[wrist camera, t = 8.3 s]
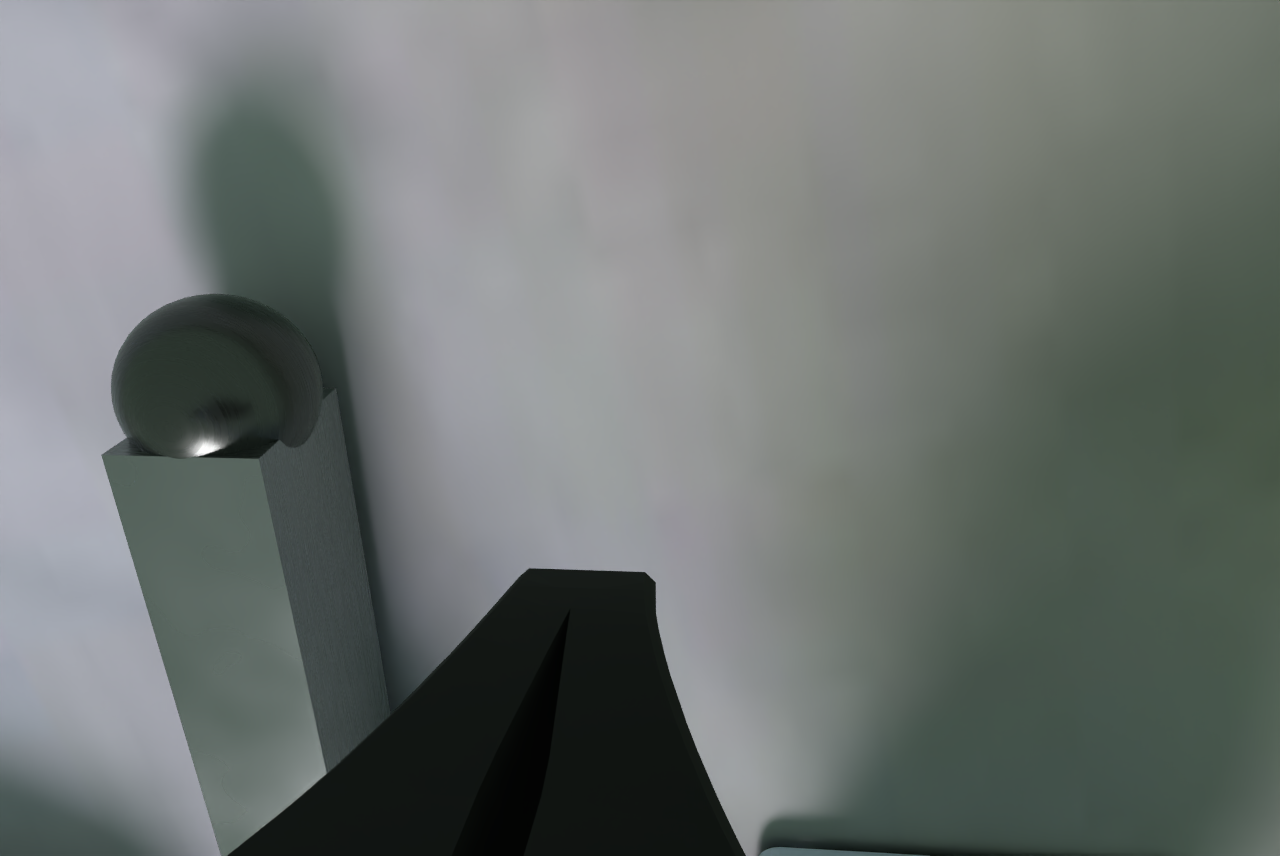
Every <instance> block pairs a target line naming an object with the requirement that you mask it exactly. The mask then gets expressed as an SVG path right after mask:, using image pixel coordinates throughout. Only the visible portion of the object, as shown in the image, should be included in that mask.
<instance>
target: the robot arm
mask: <svg viewBox="0 0 1280 856" xmlns="http://www.w3.org/2000/svg"><path fill="white" fill-rule="evenodd" d="M227 856H746V855H745V853H744V851H743V849H742V848H741V846H740V844H739V842H738V840H737V838H736V835H735V833H734V831H733V829H732V827H731V825H730V823H729V821H728V819H727V817H726V815H725V812H724V810H723V808H722V806H721V804H720V802H719V800H718V797H717V795H716V793H715V791H714V788H713V786H712V784H711V781H710V779H709V777H708V774H707V772H706V770H705V767H704V765H703V763H702V760H701V758H700V756H699V753H698V751H697V748H696V746H695V743H694V741H693V738H692V736H691V733H690V730H689V728H688V725H687V723H686V720H685V717H684V714H683V711H682V708H681V705H680V702H679V699H678V696H677V693H676V690H675V687H674V685H673V682H672V679H671V676H670V672H669V669H668V665H667V662H666V658H665V655H664V650H663V646H662V642H661V638H660V633H659V629H658V623H657V617H656V582H655V581H654V580H653V579H652V578H650V577H649V576H648V575H647V574H646V573H645V572H623V571H593V570H562V569H531V568H529V569H528V570H527V571H526V572H525V573H523V574H522V575H521V576H520V577H519V578H518V579H517V580H516V581H515V582H514V584H513V585H512V586H511V587H510V588H509V589H508V590H507V592H506V593H505V594H504V595H503V596H502V597H501V598H500V599H499V601H498V602H497V603H496V604H495V605H494V606H493V607H492V609H491V610H490V611H489V612H488V613H487V614H486V615H485V616H484V618H483V619H482V620H481V621H480V622H479V623H478V624H477V625H476V626H475V628H474V629H473V630H472V631H471V632H470V633H469V634H468V635H467V636H466V637H465V639H464V640H463V641H462V642H461V643H460V644H459V645H458V646H457V647H456V648H455V649H454V650H453V651H452V653H451V654H450V655H449V656H448V657H447V658H446V659H445V660H444V661H443V662H442V663H441V664H440V665H439V666H438V667H437V668H436V669H435V670H434V671H433V672H432V673H431V674H430V675H429V676H428V677H427V678H426V679H425V680H424V682H423V683H422V684H421V685H420V686H419V687H418V688H417V689H416V690H415V691H414V692H413V693H412V694H411V695H410V696H409V697H408V698H407V699H406V700H405V701H404V702H403V703H402V704H401V705H400V706H399V707H398V708H397V709H396V710H395V711H394V712H393V713H392V714H390V715H389V716H388V717H387V718H386V719H385V720H384V721H383V722H382V723H381V724H380V725H379V726H378V727H377V728H375V729H374V730H373V731H372V732H371V733H370V734H369V735H368V736H367V737H366V738H365V739H364V740H363V741H362V742H360V743H359V744H358V745H357V746H356V747H355V748H354V749H353V750H352V751H351V752H350V753H349V754H348V755H347V756H345V757H344V758H343V759H342V760H341V761H340V762H339V763H338V764H337V765H336V766H335V767H334V768H332V769H331V770H330V771H329V772H328V773H327V774H326V775H324V776H323V777H322V778H321V779H320V780H319V781H318V782H316V783H315V784H314V785H313V786H312V787H311V788H309V789H308V790H307V791H306V792H305V793H304V794H302V795H301V796H300V797H299V798H298V799H297V800H295V801H294V802H293V803H292V804H291V805H289V806H288V807H287V808H286V809H285V810H283V811H282V812H281V813H280V814H279V815H277V816H276V817H275V818H274V819H272V820H271V821H270V822H269V823H267V824H266V825H265V826H264V827H262V828H261V829H260V830H258V831H257V832H256V833H255V834H253V835H252V836H251V837H250V838H248V839H247V840H246V841H245V842H243V843H242V844H241V845H240V846H238V847H237V848H236V849H235V850H233V851H232V852H231V853H229V854H228V855H227ZM759 856H928V855H911V854H894V853H876V852H859V851H841V850H824V849H806V848H789V847H773V848H769V849H767V850H764V851H763V852H762V853H761V854H760V855H759Z"/></svg>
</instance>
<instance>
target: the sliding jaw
mask: <svg viewBox="0 0 1280 856" xmlns="http://www.w3.org/2000/svg"><path fill="white" fill-rule="evenodd" d="M111 394H112V403H113V408H114V412H115V415H116V417H117V420H118V422H119V424H120V426H121V428H122V430H123V432H124V434H125V435H126V437H127V438H126V439H124V440H123V441H121V442H120V443H118V444H117V445H116V446H114V447H113V448H111V449H110V450H108V451H107V452H105V453H104V454H102V459H103V462H104V465H105V469H106V472H107V475H108V479H109V482H110V485H111V489H112V492H113V495H114V499H115V502H116V505H117V509H118V512H119V516H120V519H121V522H122V526H123V529H124V532H125V536H126V539H127V542H128V546H129V549H130V552H131V556H132V559H133V562H134V566H135V569H136V572H137V576H138V579H139V582H140V586H141V589H142V592H143V596H144V599H145V603H146V606H147V609H148V613H149V616H150V619H151V623H152V626H153V629H154V633H155V636H156V639H157V643H158V646H159V649H160V653H161V656H162V659H163V663H164V666H165V669H166V673H167V676H168V679H169V683H170V686H171V690H172V693H173V696H174V700H175V703H176V706H177V710H178V713H179V716H180V720H181V723H182V726H183V730H184V733H185V736H186V740H187V743H188V746H189V750H190V753H191V756H192V760H193V763H194V766H195V770H196V773H197V777H198V780H199V783H200V787H201V790H202V793H203V797H204V800H205V803H206V807H207V810H208V813H209V817H210V820H211V823H212V827H213V830H214V833H215V837H216V840H217V843H218V847H219V850H220V853H221V856H227V855H228V854H229V853H231V852H232V851H233V850H235V849H236V848H237V847H238V846H240V845H241V844H242V843H243V842H245V841H246V840H247V839H248V838H250V837H251V836H252V835H253V834H255V833H256V832H257V831H258V830H260V829H261V828H262V827H264V826H265V825H266V824H267V823H269V822H270V821H271V820H272V819H274V818H275V817H276V816H277V815H279V814H280V813H281V812H282V811H283V810H285V809H286V808H287V807H288V806H289V805H291V804H292V803H293V802H294V801H295V800H297V799H298V798H299V797H300V796H301V795H302V794H304V793H305V792H306V791H307V790H308V789H309V788H311V787H312V786H313V785H314V784H315V783H316V782H318V781H319V780H320V779H321V778H322V777H323V776H324V775H326V774H327V773H328V772H329V771H330V770H331V769H332V768H334V767H335V766H336V765H337V764H338V763H339V762H340V761H341V760H342V759H343V758H344V757H345V756H347V755H348V754H349V753H350V752H351V751H352V750H353V749H354V748H355V747H356V746H357V745H358V744H359V743H360V742H362V741H363V740H364V739H365V738H366V737H367V736H368V735H369V734H370V733H371V732H372V731H373V730H374V729H375V728H377V727H378V726H379V725H380V724H381V723H382V722H383V721H384V720H385V719H386V718H387V717H388V716H389V715H390V714H391V712H390V706H389V700H388V694H387V688H386V682H385V676H384V670H383V664H382V658H381V652H380V646H379V640H378V634H377V629H376V623H375V617H374V611H373V605H372V599H371V593H370V587H369V581H368V575H367V569H366V563H365V557H364V551H363V545H362V539H361V534H360V528H359V522H358V516H357V510H356V504H355V498H354V492H353V486H352V480H351V474H350V468H349V462H348V456H347V450H346V444H345V439H344V433H343V427H342V421H341V415H340V409H339V403H338V397H337V391H336V388H323V383H322V375H321V371H320V367H319V363H318V361H317V358H316V355H315V353H314V352H313V350H312V348H311V346H310V344H309V343H308V341H307V340H306V338H305V337H304V336H303V334H302V333H301V332H300V331H299V330H298V329H297V328H296V327H295V326H294V325H293V324H292V323H291V322H290V321H289V320H288V319H286V318H285V317H284V316H282V315H281V314H280V313H278V312H276V311H275V310H273V309H272V308H270V307H267V306H265V305H263V304H261V303H259V302H256V301H253V300H250V299H247V298H244V297H239V296H234V295H224V294H205V295H196V296H191V297H186V298H183V299H180V300H177V301H175V302H172V303H169V304H167V305H165V306H163V307H161V308H159V309H158V310H156V311H154V312H153V313H151V314H150V315H148V316H147V317H146V318H145V319H143V320H142V321H141V322H140V323H139V324H138V325H137V326H136V327H135V328H134V329H133V331H132V332H131V333H130V334H129V335H128V337H127V339H126V340H125V342H124V343H123V345H122V347H121V348H120V350H119V353H118V355H117V358H116V360H115V364H114V368H113V372H112V379H111Z"/></svg>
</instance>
